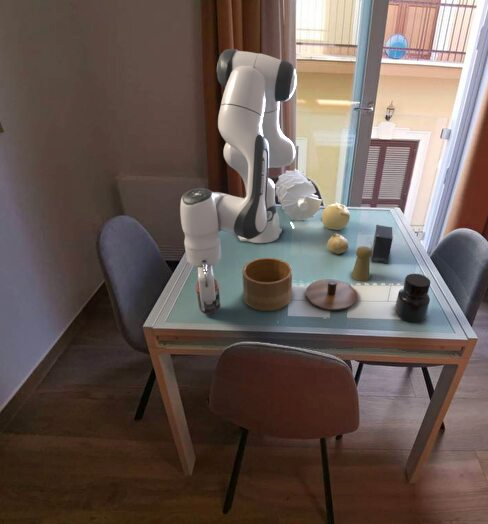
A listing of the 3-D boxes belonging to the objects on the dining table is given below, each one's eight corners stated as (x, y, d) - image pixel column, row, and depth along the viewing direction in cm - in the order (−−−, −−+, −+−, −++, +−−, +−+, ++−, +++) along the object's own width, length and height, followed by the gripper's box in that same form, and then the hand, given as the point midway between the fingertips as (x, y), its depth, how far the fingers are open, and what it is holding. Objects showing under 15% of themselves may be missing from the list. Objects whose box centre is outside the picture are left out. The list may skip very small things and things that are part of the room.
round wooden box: (236, 291, 112) (234, 265, 107) (276, 278, 119) (276, 253, 115) (257, 316, 102) (256, 289, 97) (300, 301, 109) (301, 274, 104)
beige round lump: (351, 232, 152) (354, 208, 147) (324, 233, 151) (326, 209, 145) (344, 221, 162) (347, 198, 157) (318, 222, 160) (320, 199, 155)
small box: (388, 264, 130) (393, 238, 125) (370, 261, 131) (374, 236, 126) (388, 250, 139) (393, 226, 134) (371, 248, 140) (375, 224, 135)
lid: (296, 290, 114) (296, 277, 111) (335, 277, 121) (336, 264, 119) (326, 318, 102) (327, 303, 100) (366, 301, 110) (369, 287, 108)
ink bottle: (418, 303, 110) (427, 270, 104) (431, 322, 103) (441, 287, 97) (388, 305, 109) (395, 272, 103) (399, 324, 101) (407, 289, 95)
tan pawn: (358, 282, 119) (362, 254, 113) (348, 273, 124) (351, 245, 118) (372, 278, 122) (377, 250, 116) (362, 270, 126) (366, 242, 121)
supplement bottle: (201, 301, 104) (196, 269, 99) (221, 301, 105) (218, 269, 99) (197, 315, 99) (192, 281, 93) (219, 314, 100) (215, 281, 94)
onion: (347, 247, 140) (349, 231, 137) (347, 257, 133) (349, 240, 130) (327, 245, 141) (329, 229, 138) (325, 255, 134) (327, 238, 131)
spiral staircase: (293, 231, 160) (281, 208, 180) (328, 213, 160) (313, 192, 180) (276, 198, 149) (266, 177, 169) (314, 179, 149) (299, 160, 169)
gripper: (218, 271, 85) (223, 316, 92) (213, 233, 102) (217, 274, 109) (191, 274, 83) (197, 320, 90) (190, 235, 100) (196, 276, 107)
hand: (208, 294), depth 100 cm, fingers closed on supplement bottle, 6 cm apart
